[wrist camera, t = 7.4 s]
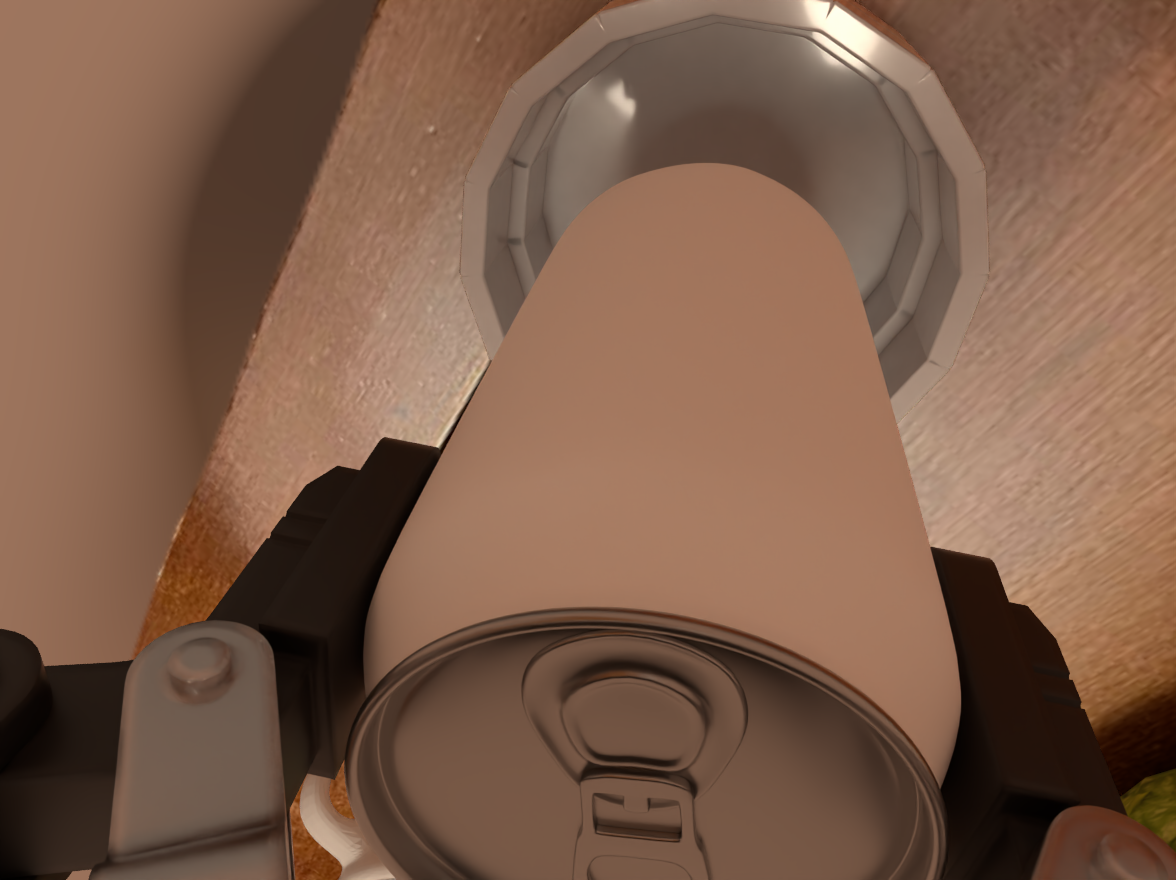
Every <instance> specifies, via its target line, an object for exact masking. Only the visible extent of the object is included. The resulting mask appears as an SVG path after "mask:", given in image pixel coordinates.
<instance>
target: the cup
mask: <svg viewBox="0 0 1176 880" xmlns="http://www.w3.org/2000/svg"><path fill="white" fill-rule="evenodd" d="M344 760H345V759H344ZM330 782H331V779H329V778H325V777H320V776H316V775H311V774H307V777H306V779H305V781H304V784H303V788H302V792H301V798H300V812H301V817H302V820H303V823H304V825H305V827H306V828H307V830H308V832H309V833H310V834H311V836H312V837H313V838H314V839H315V840H316V841H317V842H318V843H319V844H320V845H321V846H322V847H323V848H325V849H326V850H327V851H328V852H329V853H331V854H332V855H333V856H334V857H335V858H337V860H338V861H339V862H340V863H341V865H342V873H341V876H340V878H339V880H397V879H396V878H395V877H394V876H393V875H392V874H391V873H390V872H389V871H388V870H387V868H386V867H385V866H384V865H383V864H382V862H381V861H380V860H379V859H378V857H377V856H376V855H375V853H374V852H373V850H372V849H371V847H370V846H369V844H368V843H367V841H366V839H365V838H364V836H363V834H362V832H361V830H360V828H359V826H358V824H357V822H356V820H355V819H349V818H346V817H344V816H342V815H340V814H339V813H338V812H337V811H336V810H335V808H334V807H333V805H332V803H331V801H330V796H329V786H330Z"/></svg>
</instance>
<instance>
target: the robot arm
mask: <svg viewBox="0 0 1176 880" xmlns="http://www.w3.org/2000/svg"><path fill="white" fill-rule="evenodd" d="M440 457H441V455H440V450H439V448H437V447H432V446H427V445H422V444H417V443H412V442H407V441H402V440H397V439H392V438H387V437H384V438H382V439H381V440H380V441H379V443H378V444H377V446H376V447H375V449H374V450H373V452H372V453H371V455H370V456H369V458H368V459H367V461H366V462H365V464H364V465H363V467H362V468H361V470H356V469H351V468H346V467H341V466H336V467H335V468H333V469H332V470H330V471H328V472H327V473H325V474H323V475H322V476H320V477H319V478H317V479H315V480H314V481H312V482H310V483H309V484H307V485H306V486H305V487H304V489H303V490H302V491H301V493H300V494H299V495H298V497H297V498H296V499H295V501H294V502H293V503H292V505H291V506H290V508H289V509H288V510H287V514H286V517H284V516H283V517H282V518H281V520H280V521H279V522H278V524H277V525H276V526H275V528H274V529H273V531H272V532H271V536H270V538H267V539H266V540H265V541H264V543H263V544H262V545H261V547H260V548H259V549H258V551H257V552H256V554H255V555H254V556H253V558H252V559H251V560H250V562H249V563H248V564H247V566H246V567H245V568H244V570H243V571H242V573H241V574H240V575H239V577H238V578H237V579H236V581H235V582H234V583H233V585H232V586H231V587H230V589H229V590H228V591H227V593H226V594H225V596H224V597H223V598H222V600H221V601H220V602H219V604H218V605H217V606H216V608H215V609H214V610H213V612H212V613H211V614H210V616H209V617H208V618H207V620H206V621H201V622H196V623H191V624H188V625H185V626H181V627H178V628H176V629H174V630H171V631H169V632H167V633H165V634H163V635H162V636H160V637H158V638H157V639H155V640H154V641H153V642H151V643H150V644H149V645H147V646H146V647H145V648H144V649H143V650H142V651H141V652H140V653H139V654H138V655H137V657H136V658H135V659H134V660H130V661H122V662H112V663H96V664H95V663H94V664H76V665H59V666H44V665H43V661H42V658H41V655H40V653H39V651H38V648H37V647H36V646H35V644H34V643H33V642H32V641H31V640H29V639H28V638H27V637H25V636H24V635H21V634H19V633H16V632H13V631H9V630H4V629H0V880H66V879H67V878H68V877H69V875H70V874H71V872H72V871H80V870H89V869H92V871H91V873H90V876H89V880H295V869H294V856H293V843H292V830H291V816H290V807H291V805H292V803H293V801H294V799H295V797H296V795H297V793H298V791H299V789H300V787H301V785H302V783H303V781H304V779H305V777H306V775H307V774H311V775H316V776H320V777H325V778H329V779H334V780H335V778H336V776H337V774H338V772H339V769H340V767H341V765H342V763H343V761H344V759H345V752H346V745H347V741H348V736H349V733H350V730H351V727H352V724H353V722H354V720H355V717H356V715H357V713H358V711H359V709H360V708H361V706H362V704H363V703H364V701H365V699H366V694H365V683H364V666H363V648H364V634H365V625H366V619H367V615H368V610H369V607H370V604H371V601H372V598H373V595H374V592H375V589H376V587H377V584H378V581H379V579H380V576H381V573H382V571H383V569H384V567H385V565H386V563H387V561H388V558H389V556H390V554H391V552H392V550H393V548H394V546H395V544H396V542H397V540H398V538H399V536H400V534H401V532H402V530H403V528H404V526H405V524H406V522H407V520H408V518H409V516H410V514H411V512H412V510H413V508H414V507H415V505H416V503H417V501H418V499H419V497H420V495H421V493H422V491H423V489H424V487H425V485H426V484H427V482H428V480H429V478H430V476H431V474H432V472H433V470H434V468H435V467H436V465H437V463H438V461H439V459H440ZM930 548H931V552H932V556H933V560H934V564H935V568H936V572H937V575H938V579H939V583H940V587H941V591H942V595H943V598H944V602H945V606H946V610H947V614H948V619H949V623H950V628H951V632H952V636H953V641H954V645H955V650H956V655H957V662H958V671H959V679H960V688H961V714H960V722H959V728H958V733H957V738H956V744H955V747H954V751H953V754H952V758H951V761H950V764H949V767H948V770H947V773H946V776H945V778H944V781H943V784H942V786H941V789H940V790H941V793H942V796H943V800H944V803H945V806H946V811H947V816H948V823H949V835H950V841H949V854H948V861H947V866H946V870H945V873H944V876H943V879H942V880H1176V852H1175V851H1174V850H1173V849H1172V848H1171V847H1170V846H1169V845H1168V844H1167V843H1166V842H1165V841H1164V840H1163V839H1161V838H1160V837H1159V836H1157V835H1156V834H1155V833H1154V832H1152V831H1151V830H1150V829H1148V828H1147V827H1145V826H1143V825H1142V824H1140V823H1139V822H1137V821H1135V820H1133V819H1131V818H1129V817H1128V815H1127V813H1126V810H1125V808H1124V805H1123V803H1122V800H1121V798H1120V795H1119V793H1118V790H1117V788H1116V786H1115V783H1114V781H1113V778H1112V776H1111V773H1110V771H1109V768H1108V766H1107V763H1106V761H1105V758H1104V756H1103V754H1102V751H1101V749H1100V746H1099V744H1098V741H1097V739H1096V736H1095V734H1094V731H1093V729H1092V727H1091V724H1090V722H1089V719H1088V717H1087V714H1086V712H1085V709H1081V707H1080V705H1081V699H1080V697H1079V695H1078V692H1077V690H1076V687H1075V685H1074V682H1073V680H1069V674H1070V672H1069V670H1068V668H1067V665H1066V663H1065V660H1064V658H1063V655H1062V653H1061V650H1060V648H1059V645H1058V643H1057V640H1056V639H1055V637H1054V636H1053V635H1052V634H1051V633H1050V632H1049V630H1048V629H1047V628H1046V627H1045V626H1044V625H1043V624H1042V622H1041V621H1040V620H1039V619H1038V618H1037V617H1036V615H1035V614H1034V613H1033V612H1032V611H1031V610H1030V609H1029V607H1028V606H1025V605H1020V604H1016V603H1011V602H1009V601H1008V598H1007V595H1006V593H1005V590H1004V587H1003V584H1002V582H1001V579H1000V576H999V573H998V571H997V568H996V566H995V563H994V562H993V561H992V560H991V559H990V558H985V557H980V556H975V555H970V554H965V553H960V552H955V551H950V550H945V549H940V548H935V547H930Z"/></svg>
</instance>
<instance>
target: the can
mask: <svg viewBox="0 0 1176 880" xmlns="http://www.w3.org/2000/svg"><path fill="white" fill-rule="evenodd" d="M363 666H364V683H365V694H366V699H365V701H364V703H363V704H362V706H361V708H360V709H359V711H358V713H357V715H356V717H355V720H354V722H353V724H352V727H351V730H350V733H349V736H348V741H347V745H346V752H345V762H344V773H345V784H346V790H347V795H348V799H349V803H350V806H351V809H352V812H353V815H354V817H355V820H356V822H357V824H358V826H359V828H360V830H361V832H362V834H363V836H364V838H365V839H366V841H367V843H368V844H369V846H370V847H371V849H372V850H373V852H374V853H375V855H376V856H377V857H378V859H379V860H380V861H381V862H382V864H383V865H384V866H385V867H386V868H387V870H388V871H389V872H390V873H391V874H392V875H393V876H394V877H395V878H396V879H397V880H942V879H943V876H944V873H945V870H946V866H947V861H948V854H949V841H950V835H949V823H948V816H947V811H946V806H945V803H944V800H943V796H942V793H941V790H940V789H941V786H942V784H943V781H944V778H945V776H946V773H947V770H948V767H949V764H950V761H951V758H952V754H953V751H954V747H955V744H956V738H957V733H958V728H959V722H960V714H961V688H960V679H959V671H958V662H957V655H956V650H955V645H954V641H953V636H952V632H951V628H950V623H949V619H948V614H947V610H946V606H945V602H944V598H943V595H942V591H941V587H940V583H939V579H938V575H937V572H936V568H935V564H934V560H933V556H932V552H931V548H930V545H929V541H928V537H927V533H926V530H925V526H924V522H923V519H922V515H921V511H920V507H919V504H918V500H917V496H916V493H915V489H914V485H913V482H912V478H911V474H910V470H909V467H908V463H907V459H906V456H905V452H904V448H903V445H902V441H901V438H900V434H899V430H898V427H897V423H896V419H895V416H894V412H893V408H892V405H891V401H890V397H889V394H888V390H887V387H886V383H885V380H884V376H883V372H882V369H881V365H880V362H879V358H878V354H877V351H876V347H875V344H874V340H873V337H872V333H871V330H870V326H869V323H868V319H867V316H866V312H865V309H864V305H863V302H862V298H861V295H860V292H859V288H858V285H857V282H856V279H855V276H854V273H853V270H852V267H851V264H850V262H849V259H848V257H847V255H846V252H845V251H844V249H843V247H842V245H841V243H840V241H839V239H838V238H837V236H836V235H835V233H834V232H833V230H832V229H831V227H830V226H829V225H828V223H827V222H826V221H825V220H824V218H823V217H822V216H821V215H820V214H819V213H818V212H817V211H816V210H815V209H814V208H813V207H812V206H811V205H810V204H809V203H808V202H806V201H805V200H804V199H803V198H801V197H800V196H799V195H798V194H796V193H795V192H793V191H792V190H790V189H789V188H787V187H785V186H784V185H782V184H780V183H778V182H777V181H775V180H773V179H771V178H769V177H766V176H764V175H762V174H760V173H757V172H755V171H752V170H749V169H746V168H743V167H739V166H735V165H729V164H720V163H691V164H682V165H675V166H670V167H665V168H661V169H656V170H653V171H649V172H646V173H643V174H639V175H637V176H634V177H631V178H629V179H627V180H624V181H622V182H620V183H618V184H617V185H615V186H613V187H611V188H610V189H608V190H607V191H605V192H604V193H602V194H601V195H599V196H598V197H597V198H596V199H594V200H593V201H592V202H591V203H590V204H588V205H587V206H586V207H585V208H584V209H583V210H582V211H581V212H580V213H579V214H578V215H577V217H576V218H575V219H574V220H573V221H572V222H571V224H570V225H569V226H568V228H567V229H566V230H565V232H564V233H563V235H562V236H561V238H560V239H559V241H558V242H557V244H556V246H555V247H554V249H553V251H552V252H551V254H550V256H549V258H548V259H547V261H546V263H545V265H544V266H543V268H542V270H541V272H540V274H539V276H538V277H537V279H536V281H535V283H534V285H533V286H532V288H531V290H530V292H529V294H528V296H527V297H526V299H525V301H524V303H523V305H522V306H521V308H520V310H519V312H518V314H517V316H516V318H515V319H514V321H513V323H512V325H511V327H510V329H509V330H508V332H507V334H506V336H505V338H504V340H503V342H502V343H501V345H500V347H499V349H498V351H497V353H496V354H495V356H494V358H493V360H492V362H491V364H490V366H489V367H488V369H487V371H486V373H485V375H484V377H483V379H482V380H481V382H480V384H479V386H478V388H477V390H476V392H475V393H474V395H473V397H472V399H471V401H470V403H469V405H468V407H467V408H466V410H465V412H464V414H463V416H462V418H461V420H460V421H459V423H458V425H457V427H456V429H455V431H454V433H453V435H452V436H451V438H450V440H449V442H448V444H447V446H446V448H445V450H444V452H443V453H442V455H441V457H440V459H439V461H438V463H437V465H436V467H435V468H434V470H433V472H432V474H431V476H430V478H429V480H428V482H427V484H426V485H425V487H424V489H423V491H422V493H421V495H420V497H419V499H418V501H417V503H416V505H415V507H414V508H413V510H412V512H411V514H410V516H409V518H408V520H407V522H406V524H405V526H404V528H403V530H402V532H401V534H400V536H399V538H398V540H397V542H396V544H395V546H394V548H393V550H392V552H391V554H390V556H389V558H388V561H387V563H386V565H385V567H384V569H383V571H382V573H381V576H380V579H379V581H378V584H377V587H376V589H375V592H374V595H373V598H372V601H371V604H370V607H369V610H368V615H367V619H366V625H365V634H364V648H363Z"/></svg>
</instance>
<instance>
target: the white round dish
mask: <svg viewBox="0 0 1176 880" xmlns="http://www.w3.org/2000/svg"><path fill="white" fill-rule="evenodd" d="M691 163H720V164H729V165H735V166H739V167H743V168H746V169H749V170H752V171H755V172H757V173H760V174H762V175H764V176H766V177H769V178H771V179H773V180H775V181H777V182H778V183H780V184H782V185H784V186H785V187H787V188H789V189H790V190H792V191H793V192H795V193H796V194H798V195H799V196H800V197H801V198H803V199H804V200H805V201H806V202H808V203H809V204H810V205H811V206H812V207H813V208H814V209H815V210H816V211H817V212H818V213H819V214H820V215H821V216H822V217H823V218H824V220H825V221H826V222H827V223H828V225H829V226H830V227H831V229H832V230H833V232H834V233H835V235H836V236H837V238H838V239H839V241H840V243H841V245H842V247H843V249H844V251H845V252H846V255H847V257H848V259H849V262H850V264H851V267H852V270H853V273H854V276H855V279H856V282H857V285H858V288H859V292H860V295H861V298H862V302H863V305H864V309H865V312H866V316H867V319H868V323H869V326H870V330H871V333H872V337H873V340H874V344H875V347H876V351H877V354H878V358H879V362H880V365H881V369H882V372H883V376H884V380H885V383H886V387H887V390H888V394H889V397H890V401H891V405H892V408H893V412H894V416H895V419H896V423H897V424H898V423H899V421H900V420H901V419H902V418H903V417H904V416H905V415H906V414H907V413H908V412H909V411H910V410H911V409H912V408H913V407H914V406H915V405H916V404H917V403H918V402H919V401H920V400H921V399H922V398H923V397H924V396H925V395H926V394H927V393H928V392H929V391H930V390H931V389H932V388H933V387H934V386H935V385H936V384H937V383H938V382H939V381H940V380H941V379H942V378H943V377H944V376H945V375H946V374H947V373H948V372H949V370H950V368H952V366H953V364H954V361H955V359H956V356H957V354H958V352H959V349H960V347H961V344H962V342H963V339H964V337H965V335H966V332H967V330H968V327H969V325H970V323H971V320H972V318H973V315H974V313H975V310H976V308H977V306H978V303H979V301H980V298H981V296H982V293H983V291H984V289H985V286H986V284H987V281H988V279H989V272H990V261H989V233H988V205H987V176H986V170H985V164H984V163H983V161H982V159H981V157H980V155H979V153H978V151H977V150H976V148H975V146H974V144H973V142H972V140H971V138H970V137H969V135H968V133H967V131H966V129H965V127H964V125H963V123H962V122H961V120H960V118H959V116H958V114H957V112H956V110H955V109H954V107H953V105H952V103H951V101H950V99H949V97H948V96H947V94H946V92H945V90H944V88H943V86H942V84H941V83H940V81H939V79H938V77H937V75H936V73H935V71H934V70H933V69H932V68H931V67H930V66H929V65H928V63H927V62H926V61H925V60H924V59H923V58H922V57H921V56H920V55H919V54H918V53H917V52H916V50H915V49H914V48H913V47H912V46H911V45H910V44H909V43H908V42H907V41H906V40H905V39H904V38H903V36H902V35H901V34H900V33H899V32H898V31H897V30H895V29H894V28H892V27H891V26H889V25H888V24H887V23H885V22H884V21H882V20H881V19H880V18H878V17H877V16H875V15H874V14H872V13H871V12H870V11H868V10H867V9H865V8H864V7H863V6H861V5H860V4H858V3H857V2H855V1H854V0H612V1H611V2H609V3H608V4H607V5H606V6H604V7H603V8H602V9H600V10H599V11H598V12H597V13H595V14H594V15H593V16H592V17H591V18H589V19H588V20H587V21H586V22H585V23H583V24H582V25H581V26H580V27H579V28H577V29H576V30H575V31H574V32H573V33H572V34H570V35H569V36H568V37H567V38H566V39H564V40H563V41H562V42H561V43H560V44H558V45H557V46H556V47H555V48H554V49H552V50H551V51H550V52H549V53H548V54H547V55H545V56H544V57H543V58H542V59H541V60H539V61H538V62H537V63H536V64H535V65H533V66H532V67H531V68H530V69H529V70H528V71H526V72H525V73H524V74H523V75H522V76H520V77H519V78H518V79H517V80H516V81H514V82H513V83H512V85H511V87H510V88H508V90H507V92H506V94H505V96H504V99H503V101H502V103H501V105H500V107H499V109H498V111H497V113H496V115H495V117H494V119H493V121H492V123H491V125H490V127H489V129H488V131H487V133H486V135H485V137H484V139H483V142H482V144H481V146H480V148H479V150H478V152H477V154H476V156H475V158H474V160H473V162H472V164H471V166H470V168H469V170H468V172H467V174H466V178H465V181H464V191H463V212H462V233H461V254H460V275H461V280H462V283H463V286H464V289H465V292H466V294H467V297H468V300H469V303H470V306H471V309H472V311H473V314H474V317H475V320H476V323H477V325H478V328H479V331H480V334H481V337H482V339H483V342H484V345H485V348H486V351H487V354H488V356H489V359H490V360H491V362H492V360H493V358H494V356H495V354H496V353H497V351H498V349H499V347H500V345H501V343H502V342H503V340H504V338H505V336H506V334H507V332H508V330H509V329H510V327H511V325H512V323H513V321H514V319H515V318H516V316H517V314H518V312H519V310H520V308H521V306H522V305H523V303H524V301H525V299H526V297H527V296H528V294H529V292H530V290H531V288H532V286H533V285H534V283H535V281H536V279H537V277H538V276H539V274H540V272H541V270H542V268H543V266H544V265H545V263H546V261H547V259H548V258H549V256H550V254H551V252H552V251H553V249H554V247H555V246H556V244H557V242H558V241H559V239H560V238H561V236H562V235H563V233H564V232H565V230H566V229H567V228H568V226H569V225H570V224H571V222H572V221H573V220H574V219H575V218H576V217H577V215H578V214H579V213H580V212H581V211H582V210H583V209H584V208H585V207H586V206H587V205H588V204H590V203H591V202H592V201H593V200H594V199H596V198H597V197H598V196H599V195H601V194H602V193H604V192H605V191H607V190H608V189H610V188H611V187H613V186H615V185H617V184H618V183H620V182H622V181H624V180H627V179H629V178H631V177H634V176H637V175H639V174H643V173H646V172H649V171H653V170H656V169H661V168H665V167H670V166H675V165H682V164H691Z"/></svg>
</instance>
